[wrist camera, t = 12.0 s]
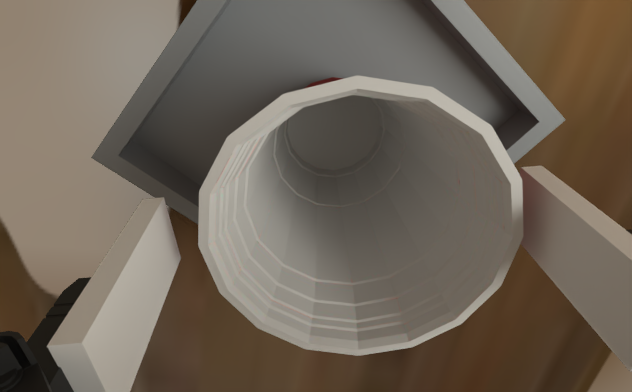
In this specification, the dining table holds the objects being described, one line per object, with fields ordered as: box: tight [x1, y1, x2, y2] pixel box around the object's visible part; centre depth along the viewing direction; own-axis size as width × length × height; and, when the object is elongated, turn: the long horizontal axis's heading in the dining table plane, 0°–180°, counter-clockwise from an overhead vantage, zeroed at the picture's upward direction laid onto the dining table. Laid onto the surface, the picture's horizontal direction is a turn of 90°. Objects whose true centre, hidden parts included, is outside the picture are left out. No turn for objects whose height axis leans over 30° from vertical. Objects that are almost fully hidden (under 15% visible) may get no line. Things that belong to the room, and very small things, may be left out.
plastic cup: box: [198, 75, 524, 356], centre depth 18 cm, size 11×11×12 cm
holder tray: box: [92, 0, 565, 225], centre depth 23 cm, size 18×18×3 cm
